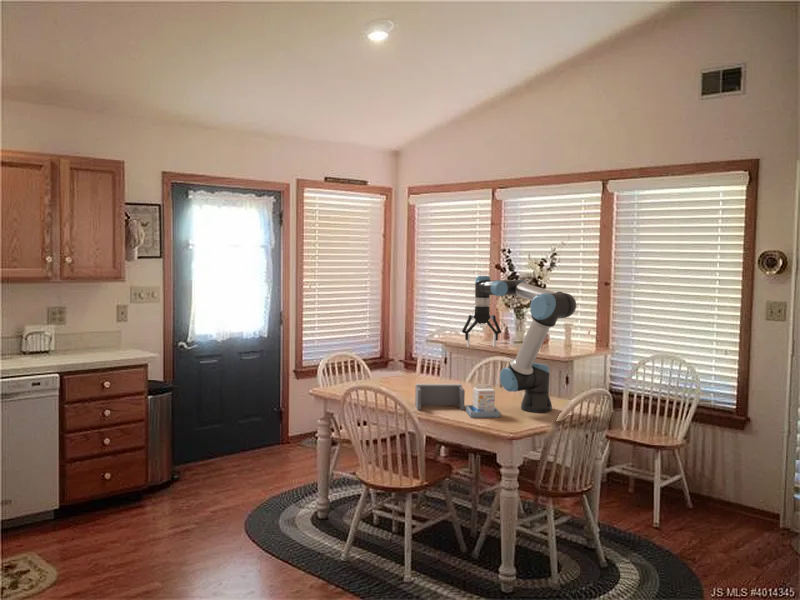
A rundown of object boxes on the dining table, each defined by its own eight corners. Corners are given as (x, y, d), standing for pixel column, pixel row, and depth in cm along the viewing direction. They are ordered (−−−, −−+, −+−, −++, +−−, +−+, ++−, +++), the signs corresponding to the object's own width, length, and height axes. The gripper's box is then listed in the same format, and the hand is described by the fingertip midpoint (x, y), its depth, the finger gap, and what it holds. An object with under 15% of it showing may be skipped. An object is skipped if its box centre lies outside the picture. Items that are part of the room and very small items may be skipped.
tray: (493, 410, 350) (493, 405, 350) (500, 417, 335) (500, 412, 335) (465, 410, 349) (465, 405, 349) (470, 417, 334) (470, 412, 334)
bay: (460, 404, 362) (460, 383, 361) (464, 410, 349) (464, 388, 348) (415, 404, 360) (415, 383, 360) (417, 410, 348) (417, 388, 347)
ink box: (477, 415, 337) (478, 387, 336) (472, 411, 345) (472, 383, 344) (494, 414, 339) (495, 386, 338) (489, 410, 347) (489, 383, 346)
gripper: (504, 305, 371) (503, 345, 373) (457, 304, 369) (456, 345, 371) (507, 306, 364) (506, 347, 365) (459, 306, 362) (458, 347, 363)
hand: (481, 346), depth 368 cm, fingers open, 13 cm apart
